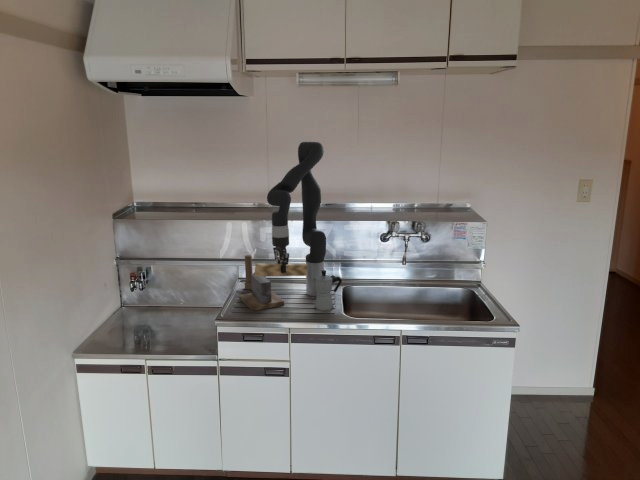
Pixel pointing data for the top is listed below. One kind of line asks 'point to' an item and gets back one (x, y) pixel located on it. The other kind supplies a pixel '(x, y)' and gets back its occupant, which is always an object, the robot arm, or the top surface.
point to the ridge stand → (261, 295)
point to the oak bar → (275, 269)
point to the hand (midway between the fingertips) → (281, 271)
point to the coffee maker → (325, 290)
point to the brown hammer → (248, 271)
